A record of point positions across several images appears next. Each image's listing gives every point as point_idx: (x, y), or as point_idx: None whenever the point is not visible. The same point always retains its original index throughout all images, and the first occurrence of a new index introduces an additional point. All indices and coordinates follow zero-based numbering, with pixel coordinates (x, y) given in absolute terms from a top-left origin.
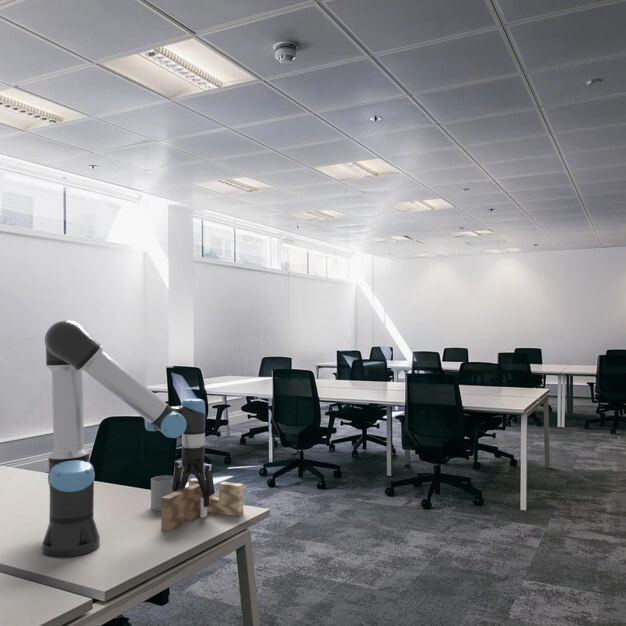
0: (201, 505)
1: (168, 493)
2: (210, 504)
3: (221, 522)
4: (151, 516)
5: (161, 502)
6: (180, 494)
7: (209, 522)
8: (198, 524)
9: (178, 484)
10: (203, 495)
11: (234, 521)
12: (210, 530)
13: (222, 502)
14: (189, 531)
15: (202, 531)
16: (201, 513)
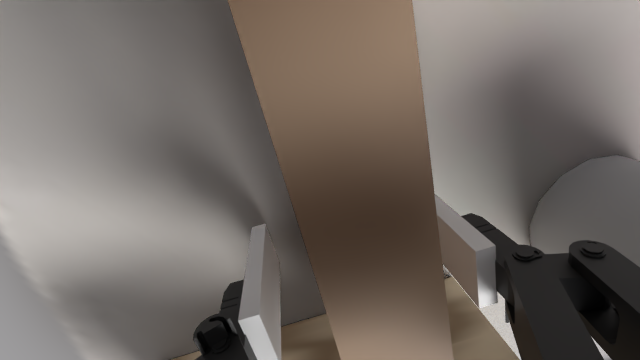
0: (254, 270)
1: (631, 258)
2: (329, 348)
3: (134, 261)
4: (553, 72)
5: (608, 193)
6: (250, 72)
7: (185, 220)
8: (201, 157)
9: (609, 333)
10: (227, 341)
11: (99, 311)
12: (33, 131)
13: None
14: (112, 22)
15: (49, 82)
16: (257, 238)
